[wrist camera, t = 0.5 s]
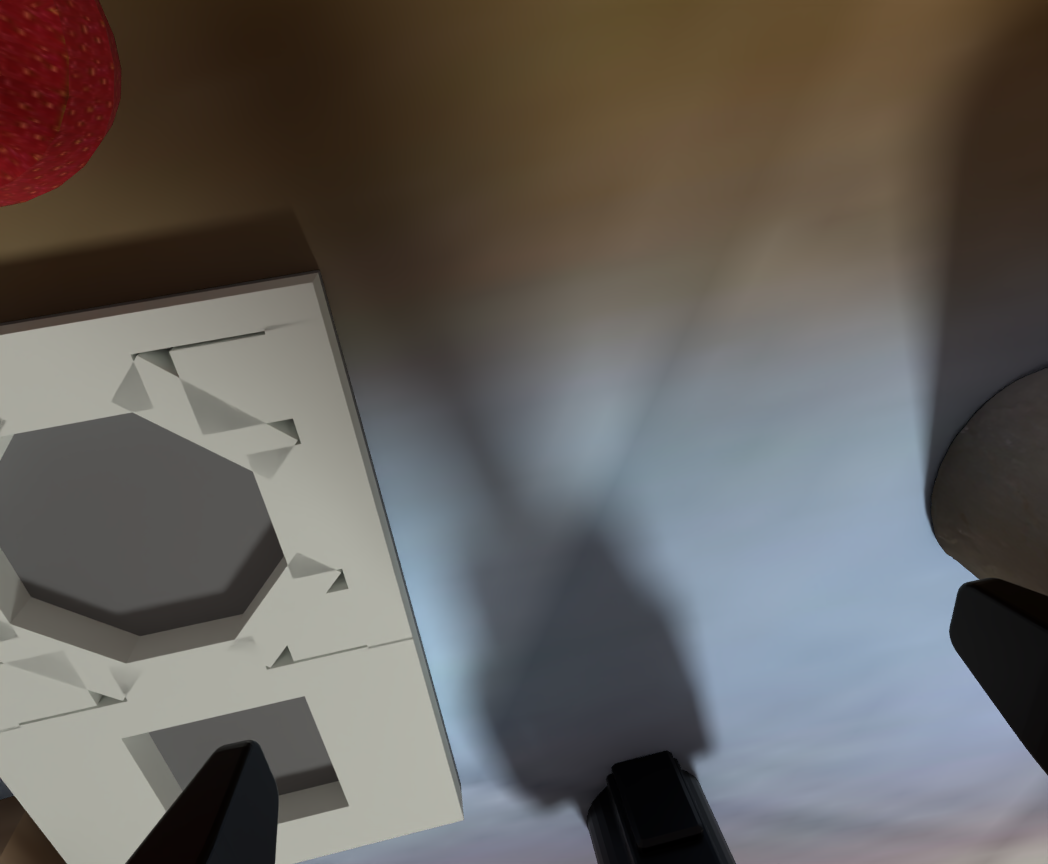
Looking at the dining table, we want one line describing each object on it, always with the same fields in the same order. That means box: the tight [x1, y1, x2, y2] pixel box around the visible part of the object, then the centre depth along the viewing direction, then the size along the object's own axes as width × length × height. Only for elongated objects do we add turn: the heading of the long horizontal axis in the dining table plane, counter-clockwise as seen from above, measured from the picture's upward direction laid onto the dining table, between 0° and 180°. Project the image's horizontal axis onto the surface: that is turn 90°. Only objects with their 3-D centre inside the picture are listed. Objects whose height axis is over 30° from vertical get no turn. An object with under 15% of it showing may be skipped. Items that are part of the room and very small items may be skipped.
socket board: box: [0, 270, 464, 864], centre depth 21 cm, size 22×14×2 cm, turn 8°
